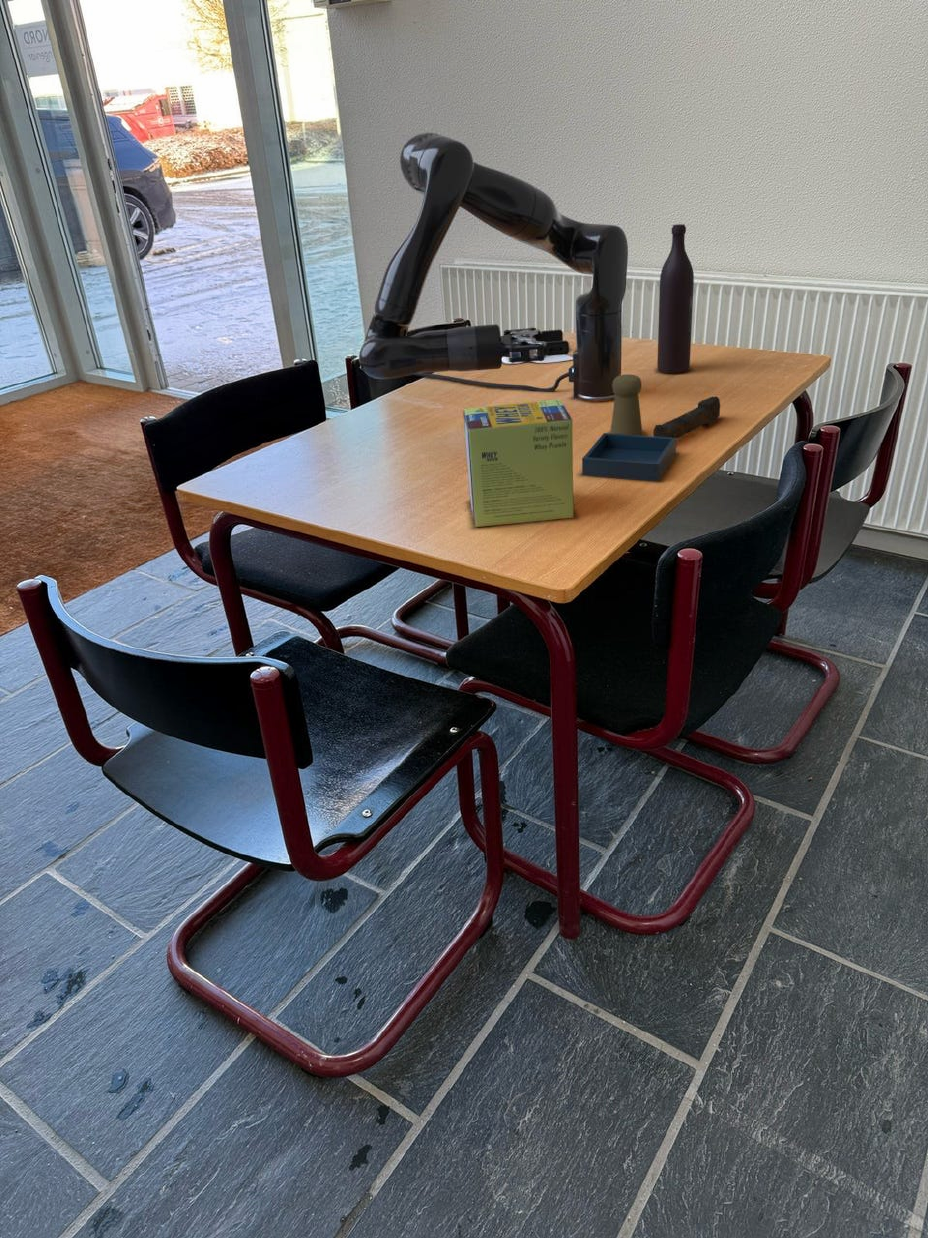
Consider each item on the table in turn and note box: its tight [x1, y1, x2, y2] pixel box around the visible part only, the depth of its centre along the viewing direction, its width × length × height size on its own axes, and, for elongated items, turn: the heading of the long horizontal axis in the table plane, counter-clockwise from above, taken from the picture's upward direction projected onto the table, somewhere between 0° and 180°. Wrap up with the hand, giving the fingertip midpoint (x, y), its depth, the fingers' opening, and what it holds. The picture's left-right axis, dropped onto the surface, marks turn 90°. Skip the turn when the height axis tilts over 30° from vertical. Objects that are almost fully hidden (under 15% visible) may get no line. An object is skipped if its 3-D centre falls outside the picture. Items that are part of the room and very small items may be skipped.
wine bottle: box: [656, 223, 695, 375], centre depth 195 cm, size 7×7×30 cm
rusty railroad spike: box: [652, 396, 721, 440], centre depth 166 cm, size 19×4×5 cm, turn 132°
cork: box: [609, 373, 644, 436], centre depth 165 cm, size 6×6×11 cm
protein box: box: [462, 398, 575, 528], centre depth 138 cm, size 10×15×16 cm
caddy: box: [581, 432, 677, 482], centre depth 154 cm, size 13×13×3 cm
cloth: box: [502, 335, 573, 365], centre depth 222 cm, size 22×19×6 cm
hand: (565, 341), depth 159 cm, fingers open, 8 cm apart
